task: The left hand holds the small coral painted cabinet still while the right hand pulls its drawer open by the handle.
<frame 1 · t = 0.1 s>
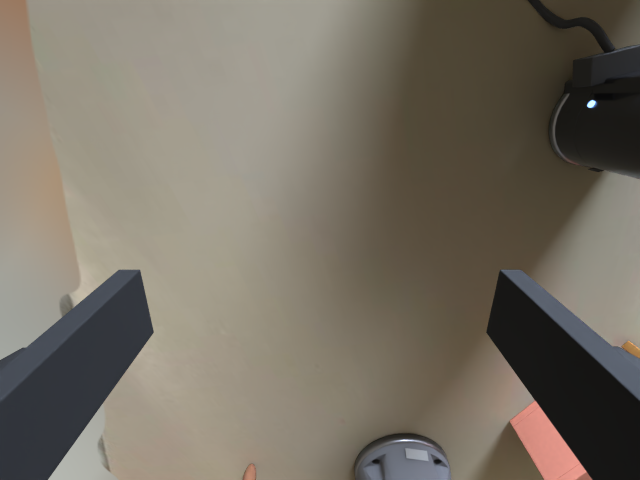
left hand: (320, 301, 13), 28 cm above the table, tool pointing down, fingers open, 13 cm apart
brown ellipsoid: (252, 463, 57), on the table
cabinet: (578, 403, 52), on the table
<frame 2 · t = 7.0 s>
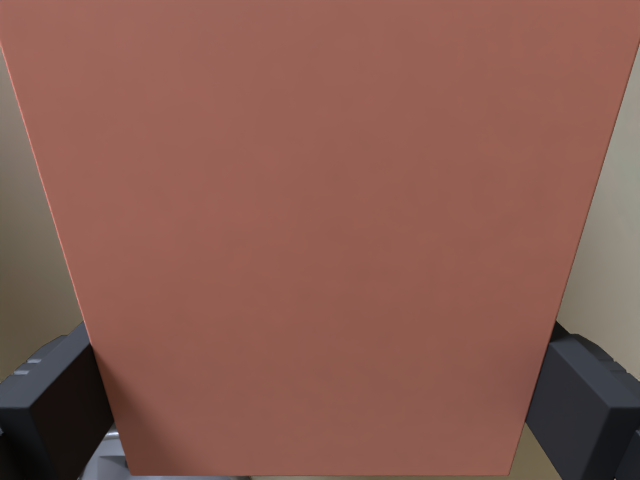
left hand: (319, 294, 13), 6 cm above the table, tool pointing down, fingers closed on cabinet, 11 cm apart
cabinet: (319, 142, 17), on the table, touching left hand
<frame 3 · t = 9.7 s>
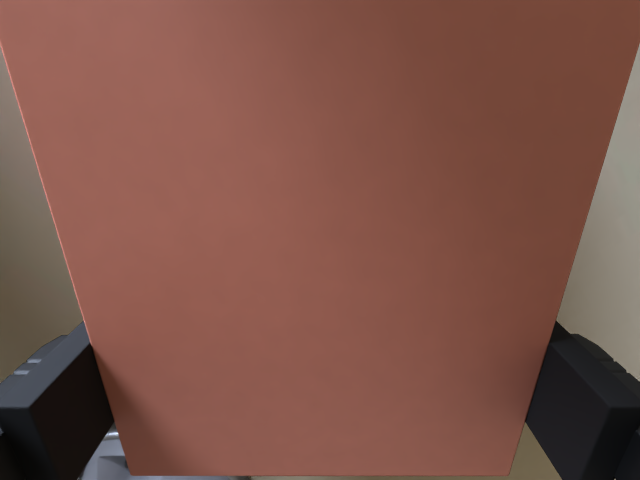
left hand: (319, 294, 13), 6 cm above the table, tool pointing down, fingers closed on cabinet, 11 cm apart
cabinet: (319, 142, 17), on the table, touching left hand
when the left hand's fingers open (6 cm above the table, at t = 12.4 s): cabinet stays where it is, on the table.
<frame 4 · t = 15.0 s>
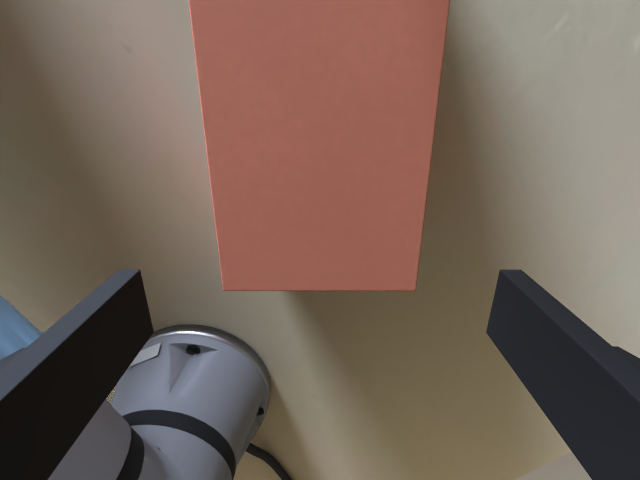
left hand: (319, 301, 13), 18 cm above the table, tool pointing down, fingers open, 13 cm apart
cabinet: (319, 126, 27), on the table
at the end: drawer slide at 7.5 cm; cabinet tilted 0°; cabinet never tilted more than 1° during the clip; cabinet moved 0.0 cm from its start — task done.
